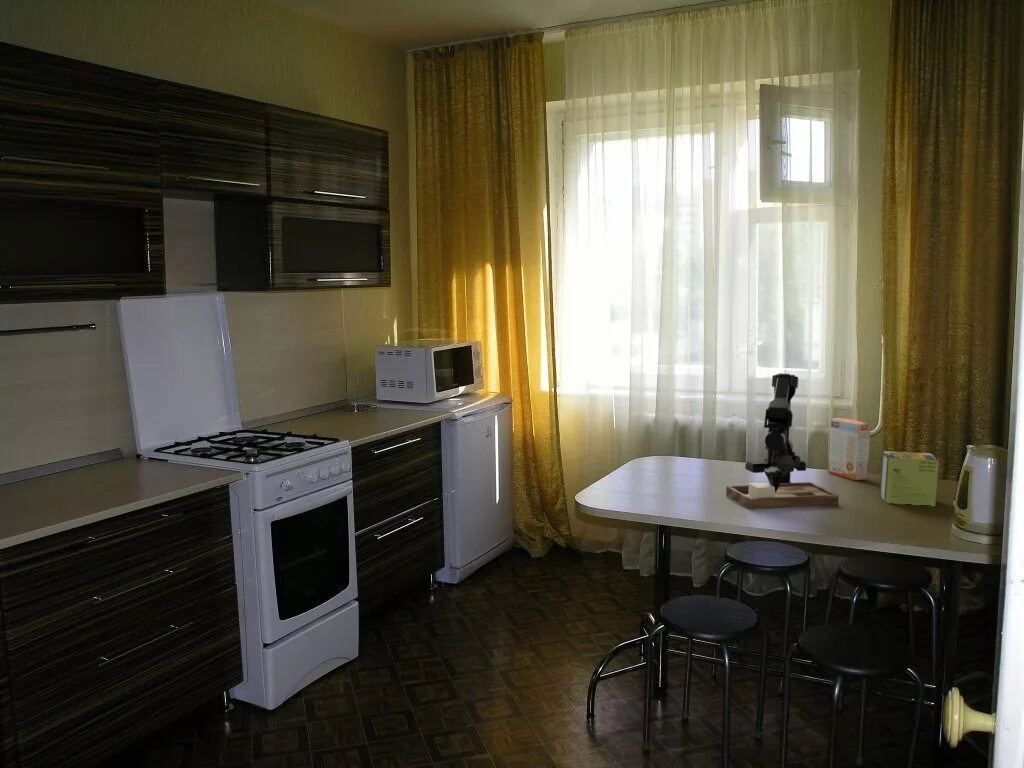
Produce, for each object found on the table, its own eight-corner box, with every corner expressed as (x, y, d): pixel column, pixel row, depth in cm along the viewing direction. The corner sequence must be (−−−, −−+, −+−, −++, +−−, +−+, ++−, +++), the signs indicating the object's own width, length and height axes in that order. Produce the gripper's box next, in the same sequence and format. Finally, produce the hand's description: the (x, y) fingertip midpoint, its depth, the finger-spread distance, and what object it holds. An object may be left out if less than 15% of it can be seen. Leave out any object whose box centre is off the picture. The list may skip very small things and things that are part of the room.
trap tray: (726, 495, 289) (726, 485, 289) (810, 491, 296) (810, 482, 295) (749, 509, 273) (750, 499, 272) (838, 504, 279) (838, 495, 279)
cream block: (748, 495, 280) (748, 483, 280) (765, 494, 282) (765, 482, 281) (757, 500, 275) (757, 487, 274) (774, 499, 276) (774, 487, 275)
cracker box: (868, 480, 312) (871, 423, 309) (855, 481, 310) (858, 424, 307) (840, 471, 325) (843, 416, 322) (827, 472, 323) (830, 417, 320)
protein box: (936, 506, 278) (939, 459, 276) (884, 503, 281) (888, 457, 279) (928, 498, 288) (931, 453, 286) (879, 495, 291) (882, 450, 289)
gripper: (762, 450, 267) (760, 499, 269) (816, 448, 271) (814, 496, 273) (745, 443, 278) (743, 490, 280) (798, 441, 282) (795, 488, 284)
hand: (774, 491), depth 279 cm, fingers closed
